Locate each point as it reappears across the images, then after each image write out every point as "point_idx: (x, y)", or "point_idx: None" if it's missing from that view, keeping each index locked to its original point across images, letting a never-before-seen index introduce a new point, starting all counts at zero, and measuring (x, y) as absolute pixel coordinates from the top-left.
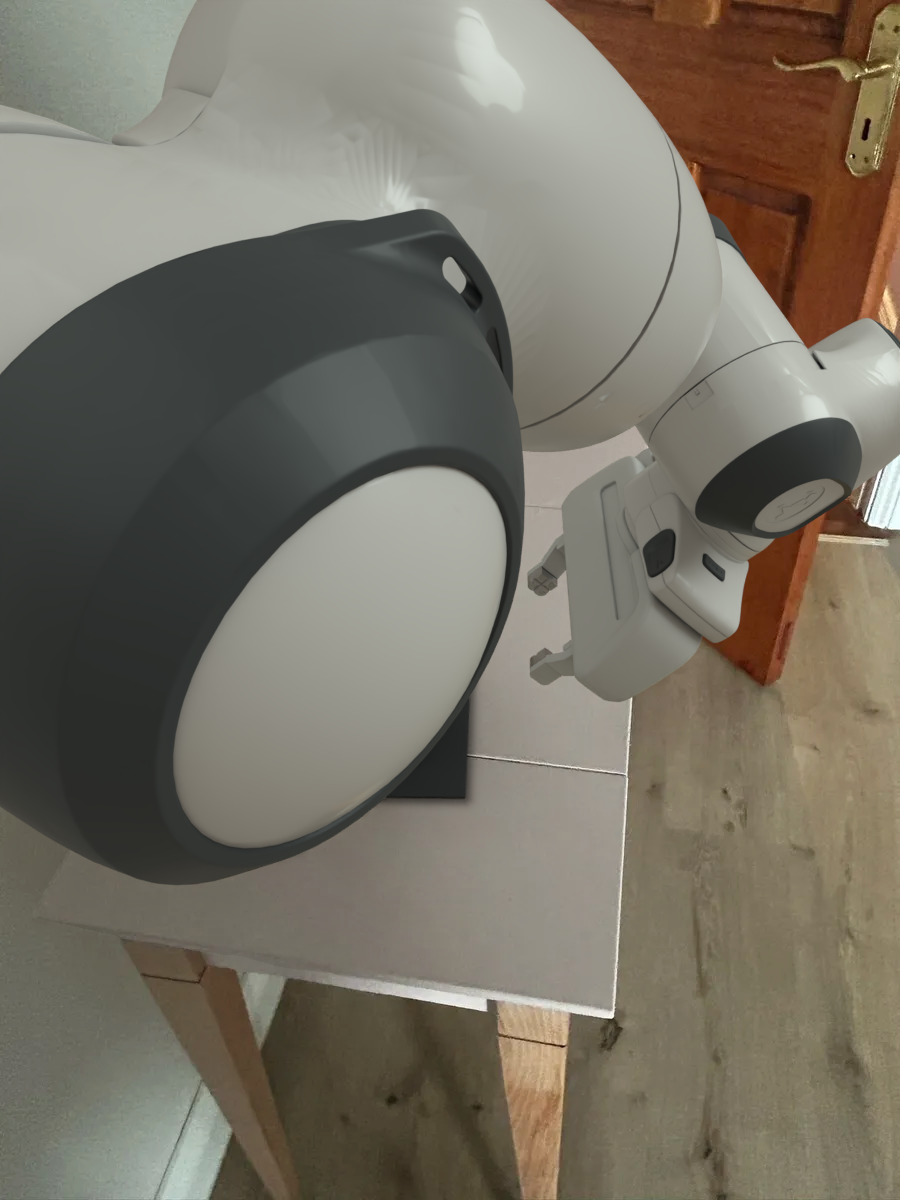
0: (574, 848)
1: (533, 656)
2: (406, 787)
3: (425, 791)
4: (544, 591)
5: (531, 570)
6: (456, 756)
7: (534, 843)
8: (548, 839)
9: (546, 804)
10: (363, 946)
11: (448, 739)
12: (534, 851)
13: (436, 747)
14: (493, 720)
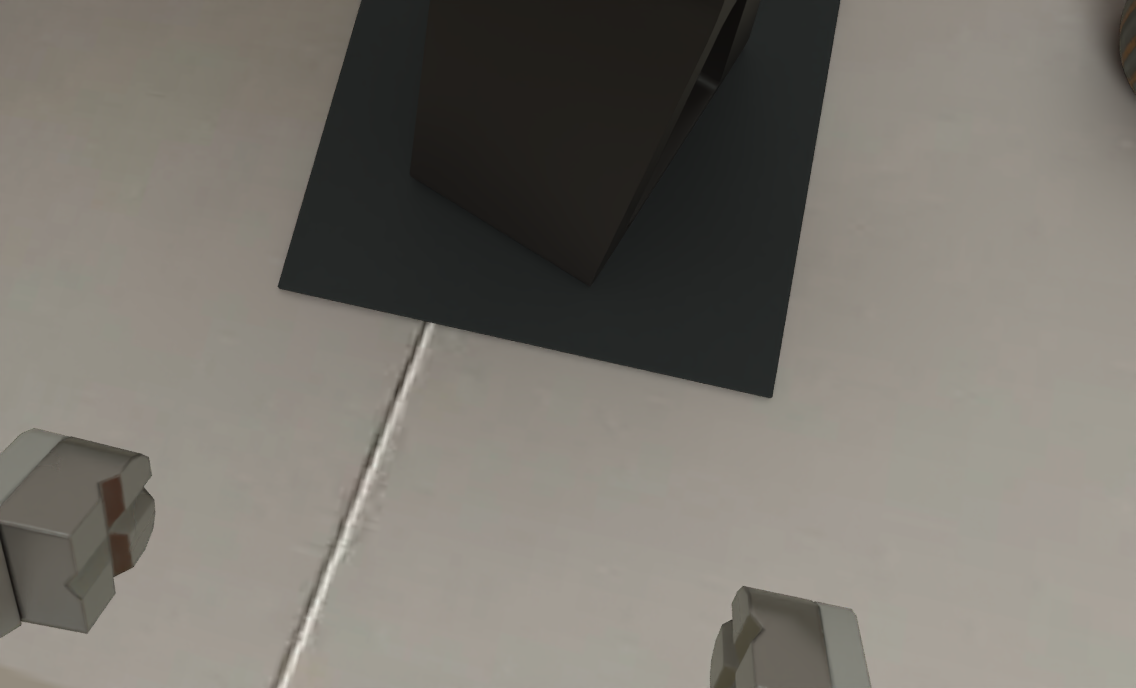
0: None
1: (115, 470)
2: (349, 139)
3: (324, 186)
4: (715, 680)
5: (847, 635)
6: (423, 289)
7: None
8: None
9: (198, 509)
10: None
11: (490, 277)
12: None
13: (470, 240)
14: (542, 424)
